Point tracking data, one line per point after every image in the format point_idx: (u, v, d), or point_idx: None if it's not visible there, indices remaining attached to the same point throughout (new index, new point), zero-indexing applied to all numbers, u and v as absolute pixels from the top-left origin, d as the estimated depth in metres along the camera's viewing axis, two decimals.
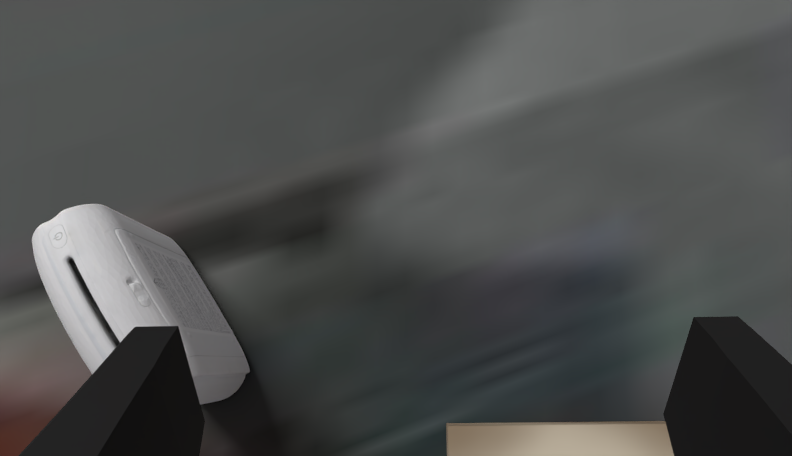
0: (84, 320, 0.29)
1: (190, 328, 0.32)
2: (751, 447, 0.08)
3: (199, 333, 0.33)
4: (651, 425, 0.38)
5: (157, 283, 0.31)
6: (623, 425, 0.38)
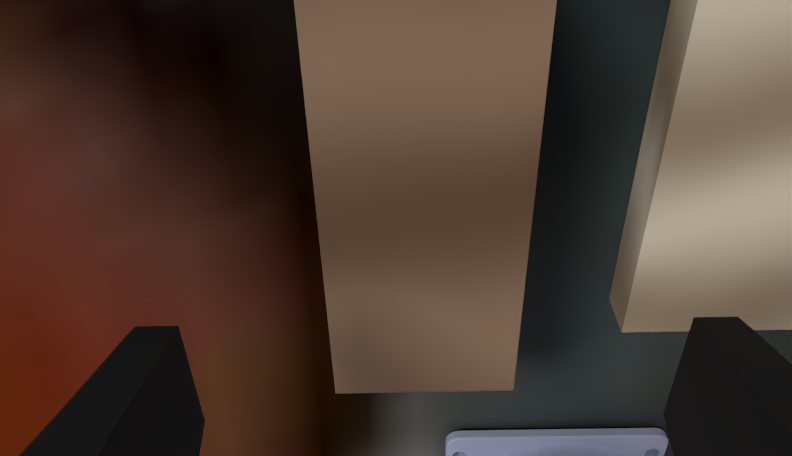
0: None
1: None
2: (751, 447, 0.08)
3: None
4: None
5: None
6: None
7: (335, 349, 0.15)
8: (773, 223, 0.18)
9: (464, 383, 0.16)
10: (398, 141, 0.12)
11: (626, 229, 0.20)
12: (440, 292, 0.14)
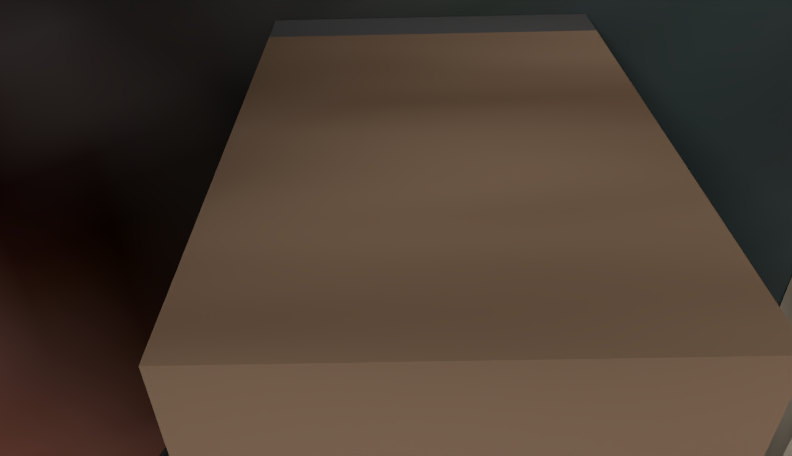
0: None
1: None
2: None
3: None
4: None
5: None
6: None
7: None
8: None
9: None
10: None
11: None
12: None
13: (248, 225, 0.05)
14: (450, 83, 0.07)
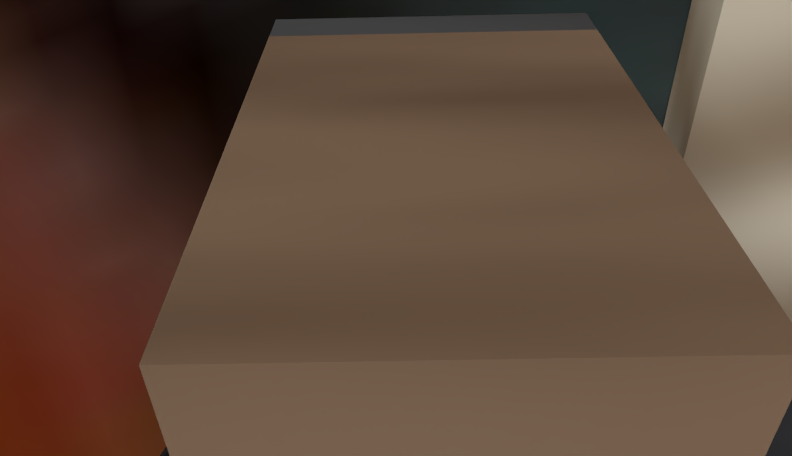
0: None
1: None
2: None
3: None
4: None
5: None
6: None
7: None
8: None
9: None
10: None
11: None
12: None
13: (248, 224, 0.05)
14: (450, 82, 0.07)
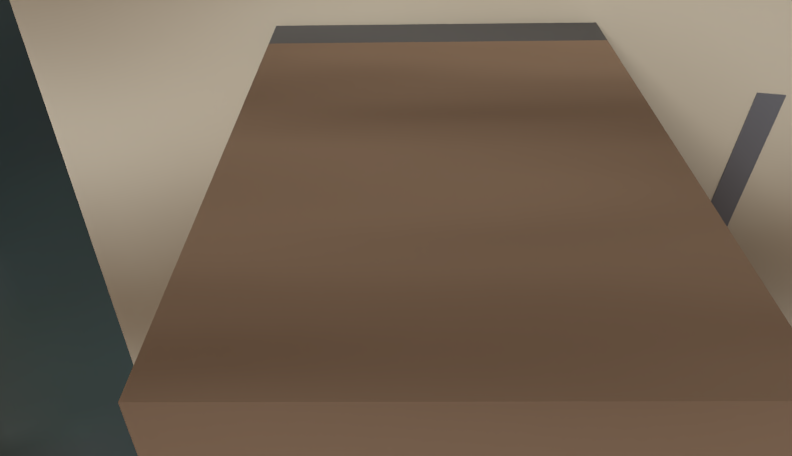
0: None
1: None
2: None
3: None
4: None
5: None
6: None
7: None
8: None
9: None
10: None
11: None
12: None
13: (240, 246, 0.05)
14: (455, 95, 0.07)
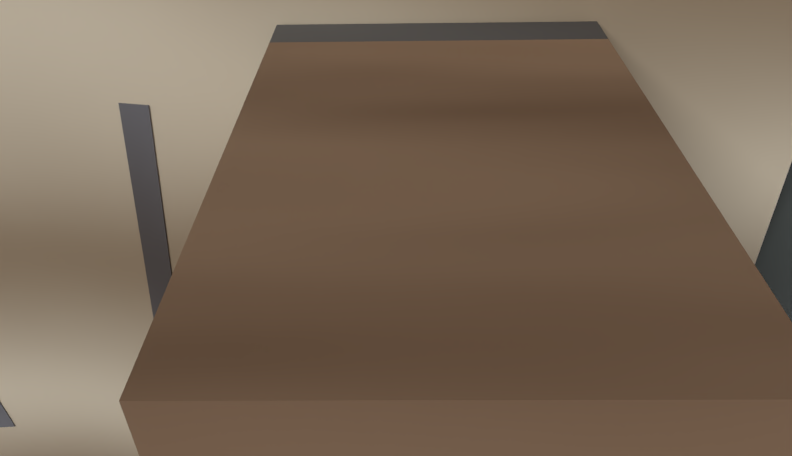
0: None
1: None
2: None
3: None
4: None
5: None
6: None
7: None
8: None
9: None
10: None
11: None
12: None
13: (241, 245, 0.05)
14: (456, 93, 0.07)
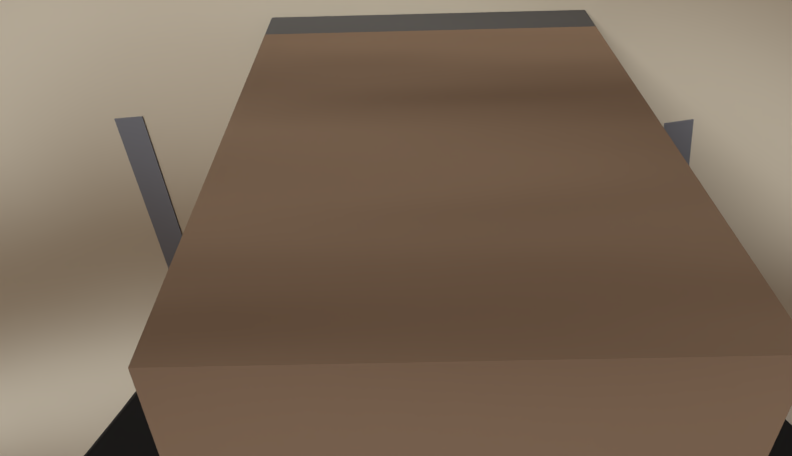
0: None
1: None
2: None
3: None
4: None
5: None
6: None
7: None
8: (109, 413, 0.14)
9: None
10: None
11: None
12: None
13: (242, 224, 0.05)
14: (448, 80, 0.07)
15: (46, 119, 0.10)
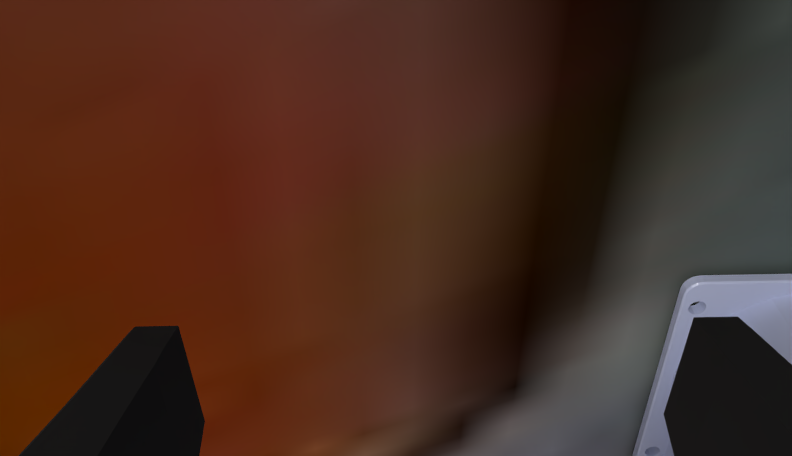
0: None
1: None
2: (751, 447, 0.08)
3: None
4: None
5: None
6: None
7: None
8: None
9: None
10: None
11: None
12: None
13: None
14: None
15: None
